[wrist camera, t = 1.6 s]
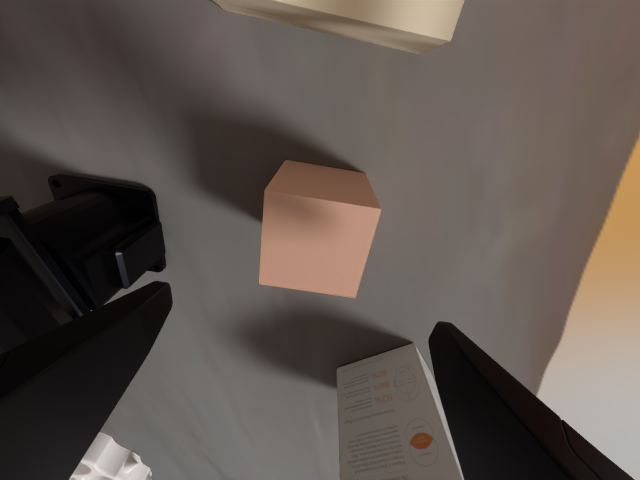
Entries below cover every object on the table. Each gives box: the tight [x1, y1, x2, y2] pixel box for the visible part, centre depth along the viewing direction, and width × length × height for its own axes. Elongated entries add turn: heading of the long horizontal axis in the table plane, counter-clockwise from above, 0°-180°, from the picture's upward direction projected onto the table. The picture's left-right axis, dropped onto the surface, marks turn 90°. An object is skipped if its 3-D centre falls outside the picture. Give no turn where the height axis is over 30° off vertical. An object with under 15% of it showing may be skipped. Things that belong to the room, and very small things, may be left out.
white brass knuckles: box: [69, 432, 154, 480], centre depth 36 cm, size 3×18×15 cm
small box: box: [337, 343, 464, 480], centre depth 21 cm, size 8×6×10 cm
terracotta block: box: [259, 160, 381, 298], centre depth 15 cm, size 5×5×6 cm
